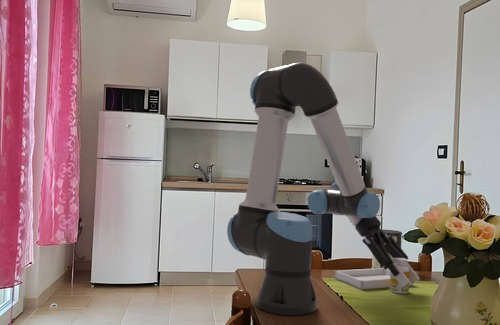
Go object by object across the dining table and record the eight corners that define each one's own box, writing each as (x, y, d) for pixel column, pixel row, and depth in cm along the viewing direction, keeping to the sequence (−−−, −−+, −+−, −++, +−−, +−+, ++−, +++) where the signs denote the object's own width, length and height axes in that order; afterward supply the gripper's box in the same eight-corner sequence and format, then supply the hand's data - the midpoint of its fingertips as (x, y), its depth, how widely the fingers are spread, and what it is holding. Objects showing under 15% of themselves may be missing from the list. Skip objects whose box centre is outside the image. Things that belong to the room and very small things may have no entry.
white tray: (361, 289, 136) (361, 281, 136) (334, 278, 148) (334, 270, 148) (412, 285, 144) (413, 277, 144) (383, 275, 156) (383, 267, 156)
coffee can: (388, 266, 172) (389, 229, 173) (406, 272, 163) (408, 232, 163) (365, 267, 168) (366, 229, 169) (383, 273, 159) (384, 233, 159)
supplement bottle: (408, 290, 137) (409, 258, 137) (409, 294, 132) (410, 261, 132) (389, 288, 138) (390, 256, 138) (389, 292, 133) (390, 259, 133)
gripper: (372, 226, 153) (417, 285, 141) (340, 229, 140) (386, 295, 128) (387, 212, 149) (434, 271, 137) (355, 214, 136) (404, 280, 124)
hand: (411, 282), depth 132 cm, fingers closed on supplement bottle, 5 cm apart
